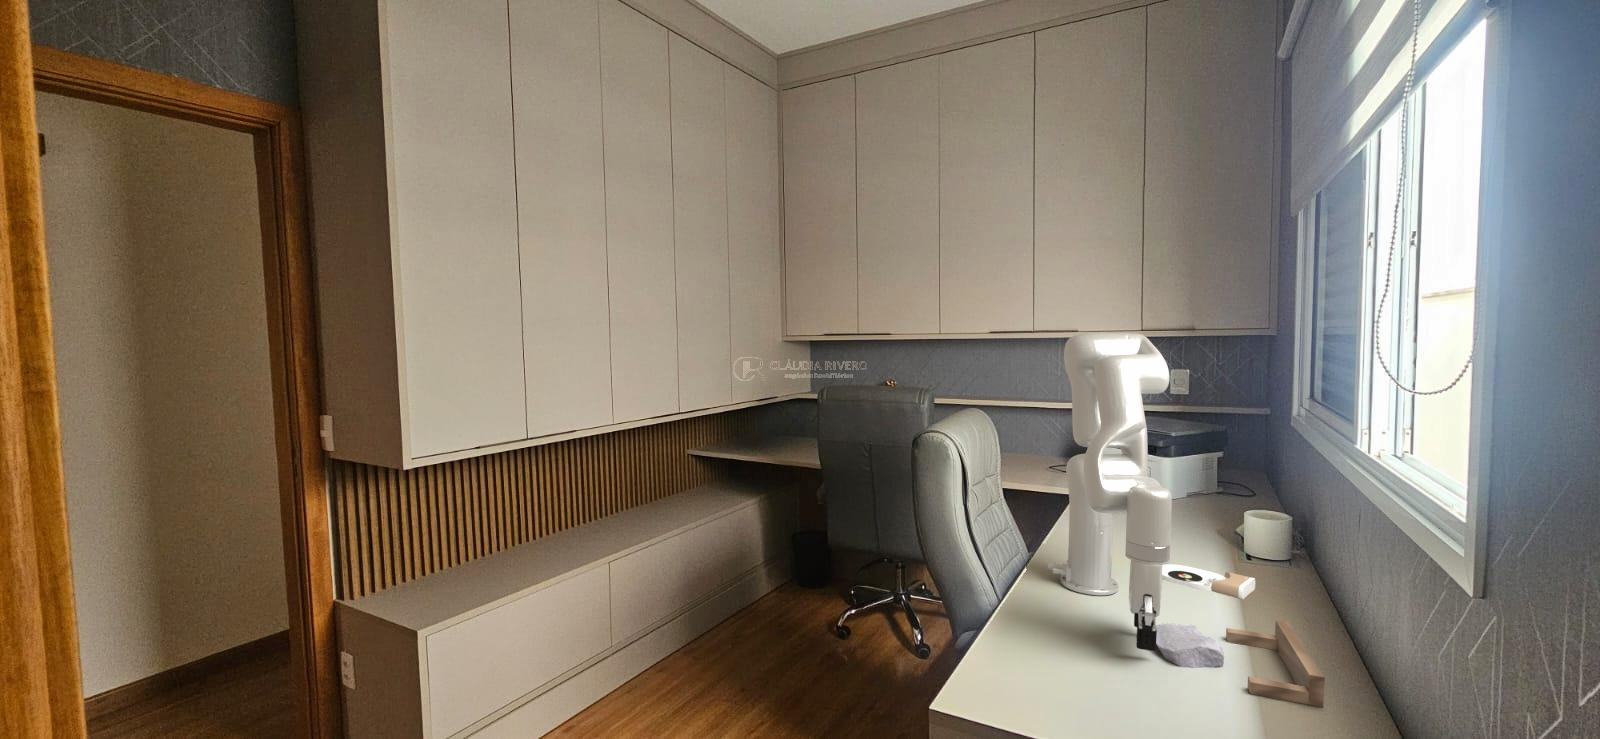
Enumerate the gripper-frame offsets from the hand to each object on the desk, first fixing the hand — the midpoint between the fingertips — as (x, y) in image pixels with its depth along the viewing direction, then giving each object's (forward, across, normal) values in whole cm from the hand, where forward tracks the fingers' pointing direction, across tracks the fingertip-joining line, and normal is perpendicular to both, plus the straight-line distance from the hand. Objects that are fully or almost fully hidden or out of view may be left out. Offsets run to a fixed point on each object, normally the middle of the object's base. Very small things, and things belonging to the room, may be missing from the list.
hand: (1144, 638), depth 128 cm
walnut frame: (+2, 0, +20) cm, 20 cm away
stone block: (+2, -1, +6) cm, 7 cm away
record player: (+2, -43, +14) cm, 45 cm away
